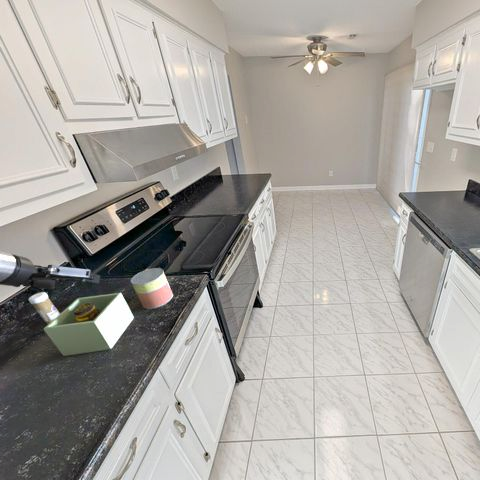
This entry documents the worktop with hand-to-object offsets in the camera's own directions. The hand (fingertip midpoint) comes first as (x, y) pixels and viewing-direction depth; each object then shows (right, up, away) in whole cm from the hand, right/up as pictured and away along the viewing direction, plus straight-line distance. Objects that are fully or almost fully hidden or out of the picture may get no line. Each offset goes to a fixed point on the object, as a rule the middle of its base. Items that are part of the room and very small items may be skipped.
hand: (76, 282), depth 82 cm
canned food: (+11, -11, +24) cm, 29 cm away
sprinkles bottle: (-21, -18, +15) cm, 32 cm away
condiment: (+2, -19, +8) cm, 21 cm away
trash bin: (+2, -20, +7) cm, 21 cm away
